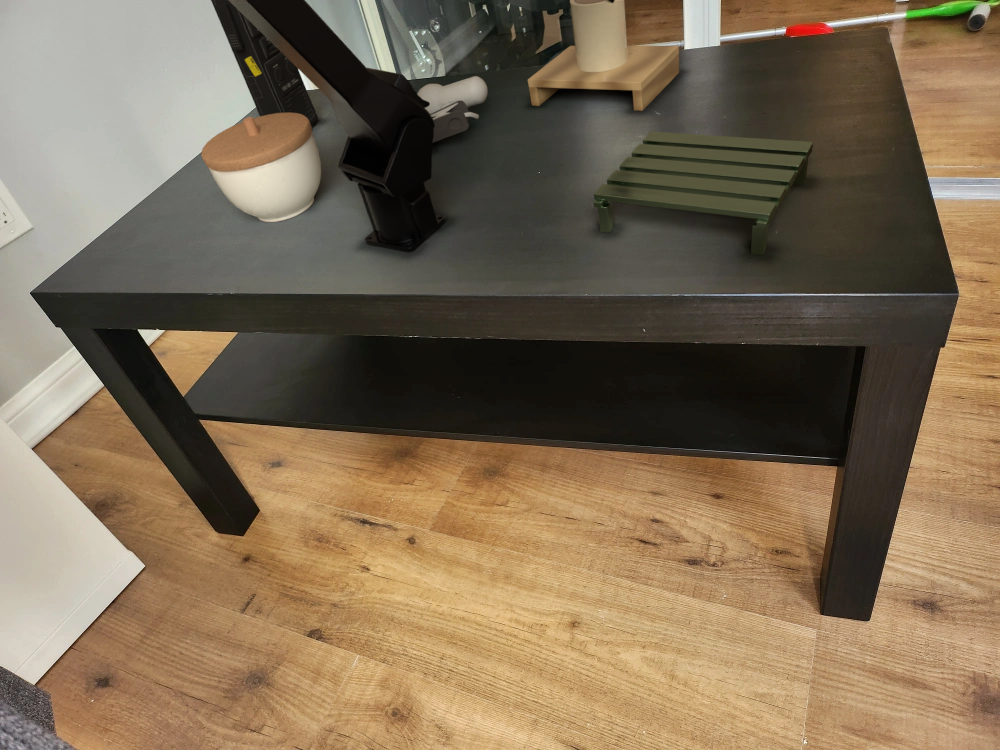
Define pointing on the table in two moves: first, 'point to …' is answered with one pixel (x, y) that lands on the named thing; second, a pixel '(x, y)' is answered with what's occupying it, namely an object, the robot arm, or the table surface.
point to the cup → (599, 34)
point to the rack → (708, 177)
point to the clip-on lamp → (453, 104)
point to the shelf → (610, 75)
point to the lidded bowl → (267, 165)
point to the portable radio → (264, 67)
